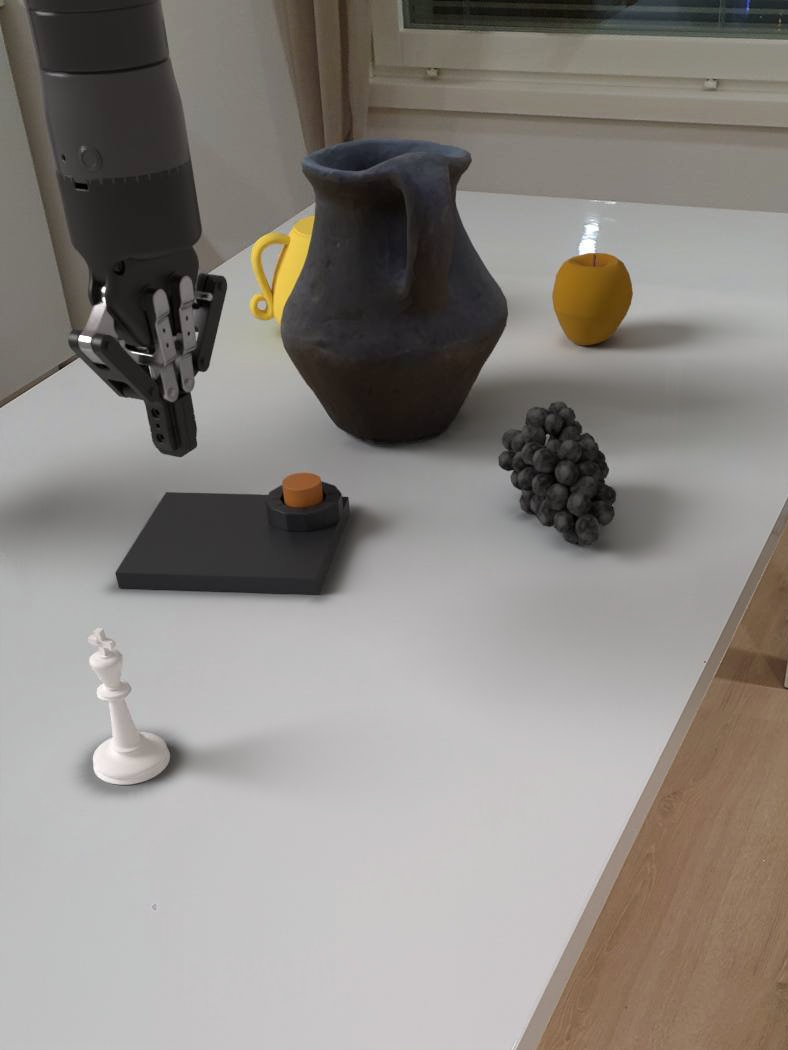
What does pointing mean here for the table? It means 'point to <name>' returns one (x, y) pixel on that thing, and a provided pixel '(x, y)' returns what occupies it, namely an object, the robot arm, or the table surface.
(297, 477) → the button
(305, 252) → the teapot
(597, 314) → the apple
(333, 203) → the pitcher
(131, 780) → the chess piece
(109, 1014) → the table surface
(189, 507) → the scale
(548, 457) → the fruit
